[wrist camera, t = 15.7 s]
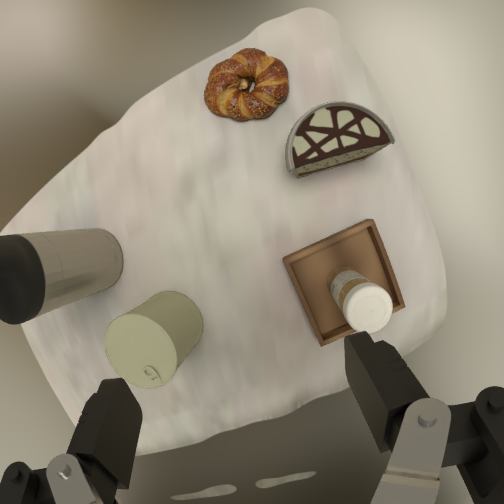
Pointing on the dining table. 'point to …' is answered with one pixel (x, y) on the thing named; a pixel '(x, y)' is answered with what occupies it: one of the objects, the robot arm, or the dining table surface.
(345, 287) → the sprinkles bottle
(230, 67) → the pretzel
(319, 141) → the food container
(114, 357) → the can
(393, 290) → the box
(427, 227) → the dining table surface
